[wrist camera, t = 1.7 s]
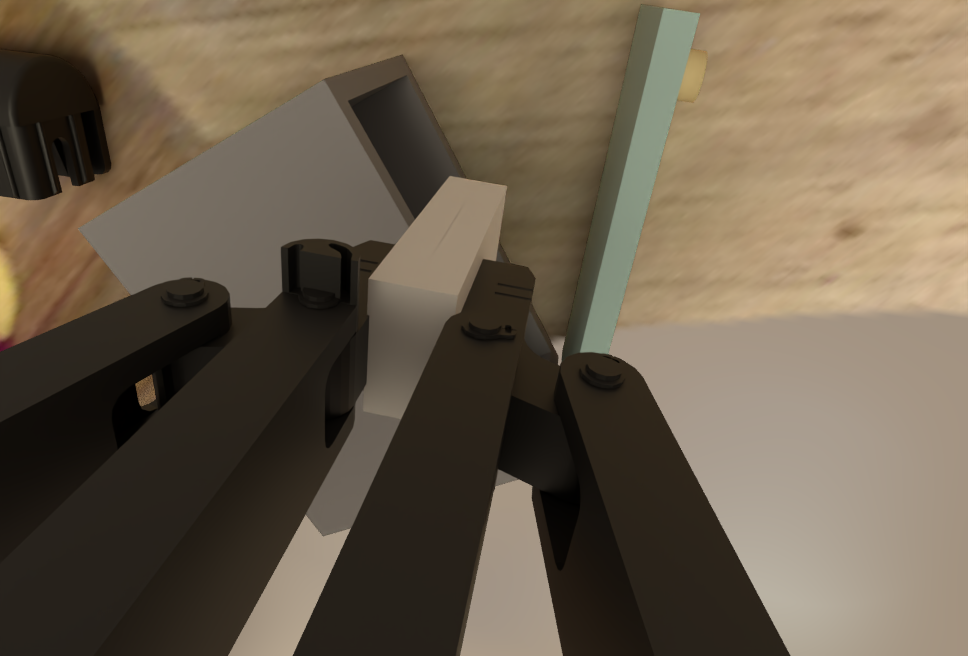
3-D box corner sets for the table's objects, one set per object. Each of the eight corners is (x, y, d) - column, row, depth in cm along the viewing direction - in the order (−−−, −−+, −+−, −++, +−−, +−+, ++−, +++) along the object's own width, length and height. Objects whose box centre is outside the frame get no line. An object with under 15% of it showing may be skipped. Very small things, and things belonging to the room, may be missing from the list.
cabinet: (380, 419, 44) (323, 536, 35) (209, 168, 37) (78, 228, 28) (558, 356, 40) (548, 470, 30) (402, 54, 33) (324, 79, 23)
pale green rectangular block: (560, 360, 39) (551, 469, 30) (640, 4, 29) (663, 8, 20) (600, 368, 39) (603, 480, 30) (695, 12, 29) (743, 20, 20)
